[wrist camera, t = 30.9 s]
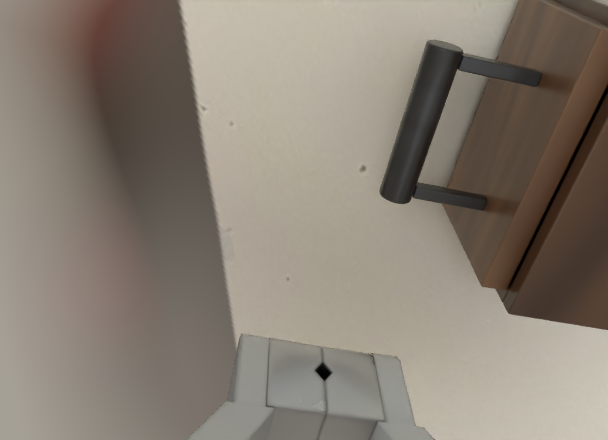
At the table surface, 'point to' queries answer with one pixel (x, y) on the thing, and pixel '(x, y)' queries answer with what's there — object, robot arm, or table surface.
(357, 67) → the table surface
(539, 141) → the drawer
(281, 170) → the table surface
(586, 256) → the cabinet
